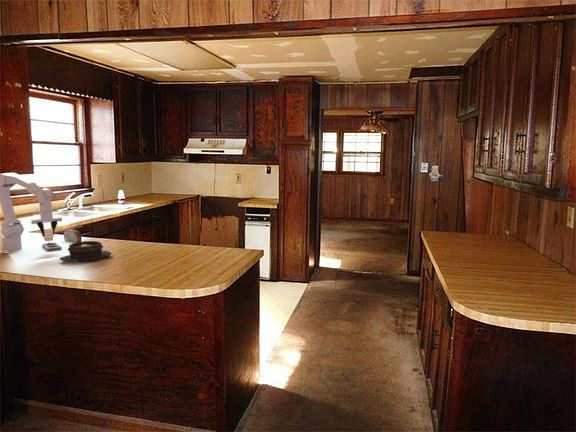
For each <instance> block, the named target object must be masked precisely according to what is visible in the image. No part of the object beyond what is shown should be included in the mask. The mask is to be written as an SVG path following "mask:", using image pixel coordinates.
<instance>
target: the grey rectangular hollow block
mask: <svg viewBox="0 0 576 432" xmlns="http://www.w3.org/2000/svg"><path fill="white" fill-rule="evenodd" d="M41 246H42V248H43V249H44V250H45V251H46V252H52V251H61V250H62V249H63V248H62V246H61V245H60V244H58V243H57V242H51V241H47V243H42V245H41Z"/></svg>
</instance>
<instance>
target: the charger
mask: <svg viewBox="0 0 576 432" xmlns="http://www.w3.org/2000/svg"><path fill="white" fill-rule="evenodd" d="M42 238H43V241H45V242H52V241H54V235H53V228H51V226H49V227H44V236H42Z"/></svg>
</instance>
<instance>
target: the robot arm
mask: <svg viewBox="0 0 576 432" xmlns="http://www.w3.org/2000/svg"><path fill="white" fill-rule="evenodd" d="M16 185H18V186H20V187H23V188H25V189H26V191H27V192H28V193H29V194H32V195H34V196H35V197H36V198H37V202H38V204H39V213H40V214H39V215H40V218H37V219H31V220H30V222H31V224H32V225H37V226H38V228H39V231H40V232H41V235H42V237H43V236H44V228H45V227H44V226H45V225H44V224H45V223H46V224H47V223H50V227H51V228H53V236H55V231H56V227H57V226H58V222H63V218H62V217H53V207H52V206H53V205H52V199H53V198H54V191H53V190H52V189H51V188H50V187H48V188H47V187H46V188H45V186H42V185H40V184H38V183H37V182H36V181H33V182H32V181H31V182H29V181H28V180H26V179H25V178H23V177H21V176H20V175H19V174H18V173H16V172H5V173H0V207H1V212H2V216H3V219H4V220H3V222H2V223H1V224H0V227H1V228H0V231H1V235H2V237H1V238H0V239H1V240H0V241H1V242H0V243H1V251H3V252H10V251H19V250H22V249H23V247H22V244H23V243H22V235H23V233H24V231H25V230H24V229H25V228H24V225H23V224H22V222H21V220H20V219H18V218H17V216H16V213H15V209H14V206H13V202H12V198H11V194H10V190H11V189H12V188H13V187H15V186H16ZM5 250H7V251H5ZM3 252H2V253H3Z"/></svg>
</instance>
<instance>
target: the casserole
mask: <svg viewBox="0 0 576 432" xmlns="http://www.w3.org/2000/svg"><path fill="white" fill-rule="evenodd" d="M103 248H104V246H103V244H102V243H101V241H96V240H87V241H85V240H84V241H81V242H73V243H71V244H69V246H68V249H67V251H68V253H69V255H64V256H61V257H60V258H59V260H60V261H62V262H67V263H69V262H77V261H79V262H78V263H85V262H84V261H88V262H92V261H96V260H98V259H101V258H104V257H107V256H111V254H112V252H110V251H109V250H103Z"/></svg>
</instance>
